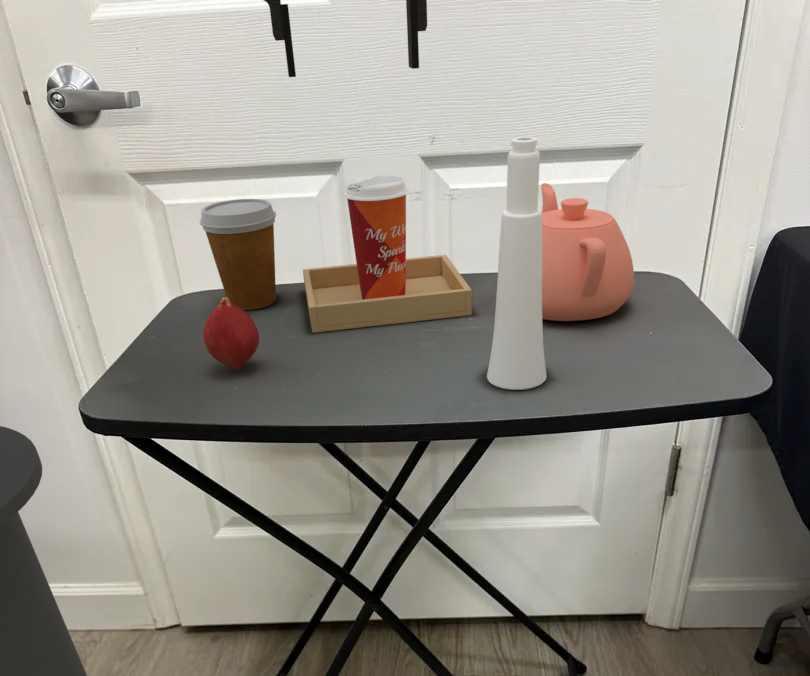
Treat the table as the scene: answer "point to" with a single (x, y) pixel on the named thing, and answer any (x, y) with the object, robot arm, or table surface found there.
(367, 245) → the paper cup
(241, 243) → the disposable coffee cup
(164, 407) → the table surface
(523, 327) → the cosmetic bottle
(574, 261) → the teapot
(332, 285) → the tray
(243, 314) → the onion
